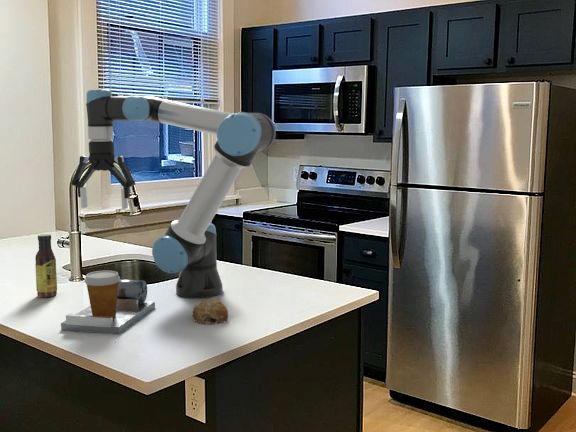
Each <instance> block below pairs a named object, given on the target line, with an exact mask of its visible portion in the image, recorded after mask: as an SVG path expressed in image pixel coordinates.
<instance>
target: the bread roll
mask: <svg viewBox="0 0 576 432" xmlns="http://www.w3.org/2000/svg"><path fill="white" fill-rule="evenodd" d="M228 316H229V311H228V307H227V306H226V305H225V303H223V302H222V301H220V300H218V299H217V298H214V297H206V298H205V299H203V300H201V301H200V302H199V303H197V304H196V305H195V306H194V307H193V310H192V320H193V321H194V320H195V322H196V323H198V324H200V323H202V325H206V324H209V325H215V323H217V324H220V323H221V322H222V323H224V321H225V322H226V321H227V320H228V318H229V317H228Z"/></svg>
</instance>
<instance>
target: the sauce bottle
mask: <svg viewBox="0 0 576 432" xmlns="http://www.w3.org/2000/svg"><path fill="white" fill-rule="evenodd" d="M37 240H38V250H37V252H36V254H35V264H34V265H35V266H34V268H35V284H36V293H37V294H36V295H37V297H39V298H50V297H51V298H52V297H54V296H56V295H57V294H58V292H57V291H58V279H57V278H58V277H57V276H58V275H57V258H56V256H55V254H54V251H53V249H52V242H51V241H52V234H49V233H43V234H38V235H37Z"/></svg>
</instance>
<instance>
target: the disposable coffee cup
mask: <svg viewBox="0 0 576 432" xmlns="http://www.w3.org/2000/svg"><path fill="white" fill-rule="evenodd" d="M119 279H121V277H120V275H119V272H118V271H116V270H97V271H91V272H88V273H87V274H85V278H84V283H85V285H86V288H87V293H88V294H87V295H88V300H89V306H91V310H92V316H106V317H114V316H115V315H116V306H117V293H118V282H119Z"/></svg>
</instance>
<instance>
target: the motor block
mask: <svg viewBox="0 0 576 432" xmlns="http://www.w3.org/2000/svg"><path fill="white" fill-rule="evenodd" d="M147 297H148V285H147V283H146V281H145V280H142V279H141V280H139V279H138V280H137V279H121V278H120V279H119V282H118V293H117V306H116V315H115V316H114V317H106V316H92V310H91V305H89V306H88V307H86V308H84V309H82V310H81V311H79V312H77V313H76V314H72V313H67V314H66V315H65V320H64V321H62V322H60V330H61V331H69V332H80V331H83V332H84V333H85V332H86V333H95V332H100V333H101V334H109V333H116V334H115V335H120V334H121V332H122V331H123V332H124V331H126V330H127V329H129V328H130V327H132V326H133V325H134V324H135V323H137V322H138V321H139V320H141V319H142V318H143V317H145V316H146V315H147V314H148V313H150V312H151V311H153V310H154V309H156V301H154V300H147ZM140 318H141V319H140ZM136 321H137V322H136ZM133 323H134V324H133ZM129 326H130V327H129ZM125 329H126V330H125ZM83 332H82V333H83ZM123 332H122V333H123ZM100 333H99V334H100Z"/></svg>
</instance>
